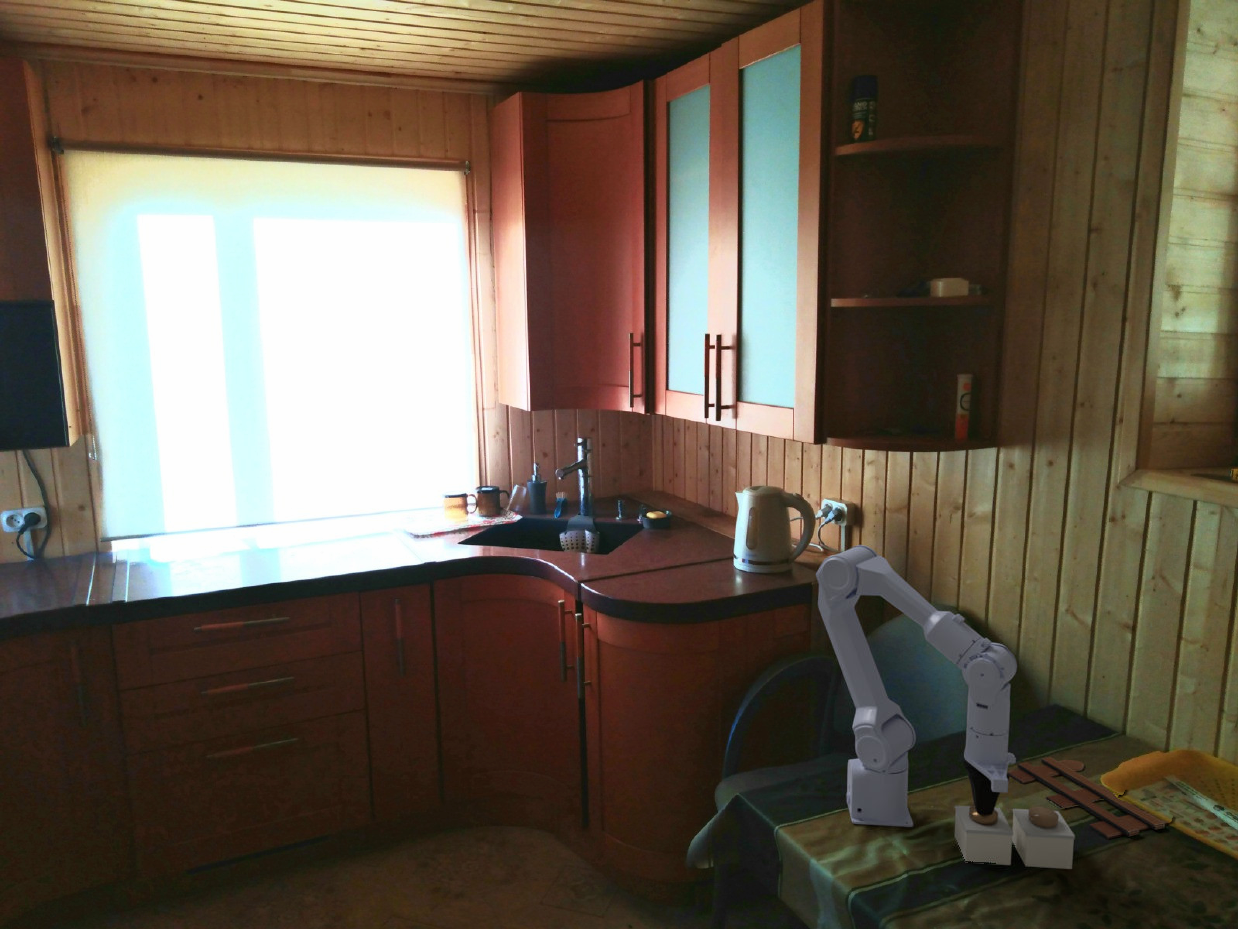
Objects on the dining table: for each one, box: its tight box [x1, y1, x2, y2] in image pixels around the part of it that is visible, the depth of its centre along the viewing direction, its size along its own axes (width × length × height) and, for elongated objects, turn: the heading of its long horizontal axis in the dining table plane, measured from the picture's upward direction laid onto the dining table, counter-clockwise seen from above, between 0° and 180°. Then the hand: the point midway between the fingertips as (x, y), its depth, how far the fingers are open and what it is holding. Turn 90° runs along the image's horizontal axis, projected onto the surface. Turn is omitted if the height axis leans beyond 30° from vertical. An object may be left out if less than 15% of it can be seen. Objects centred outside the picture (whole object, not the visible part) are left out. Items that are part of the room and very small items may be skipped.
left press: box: [954, 805, 1013, 866], centre depth 129 cm, size 7×8×5 cm
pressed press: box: [1012, 806, 1076, 870], centre depth 128 cm, size 7×8×7 cm
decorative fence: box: [1007, 756, 1168, 840], centre depth 143 cm, size 23×2×15 cm
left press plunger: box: [969, 804, 998, 825], centre depth 128 cm, size 4×4×6 cm
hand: (983, 812), depth 128 cm, fingers closed, pressing on left press plunger
